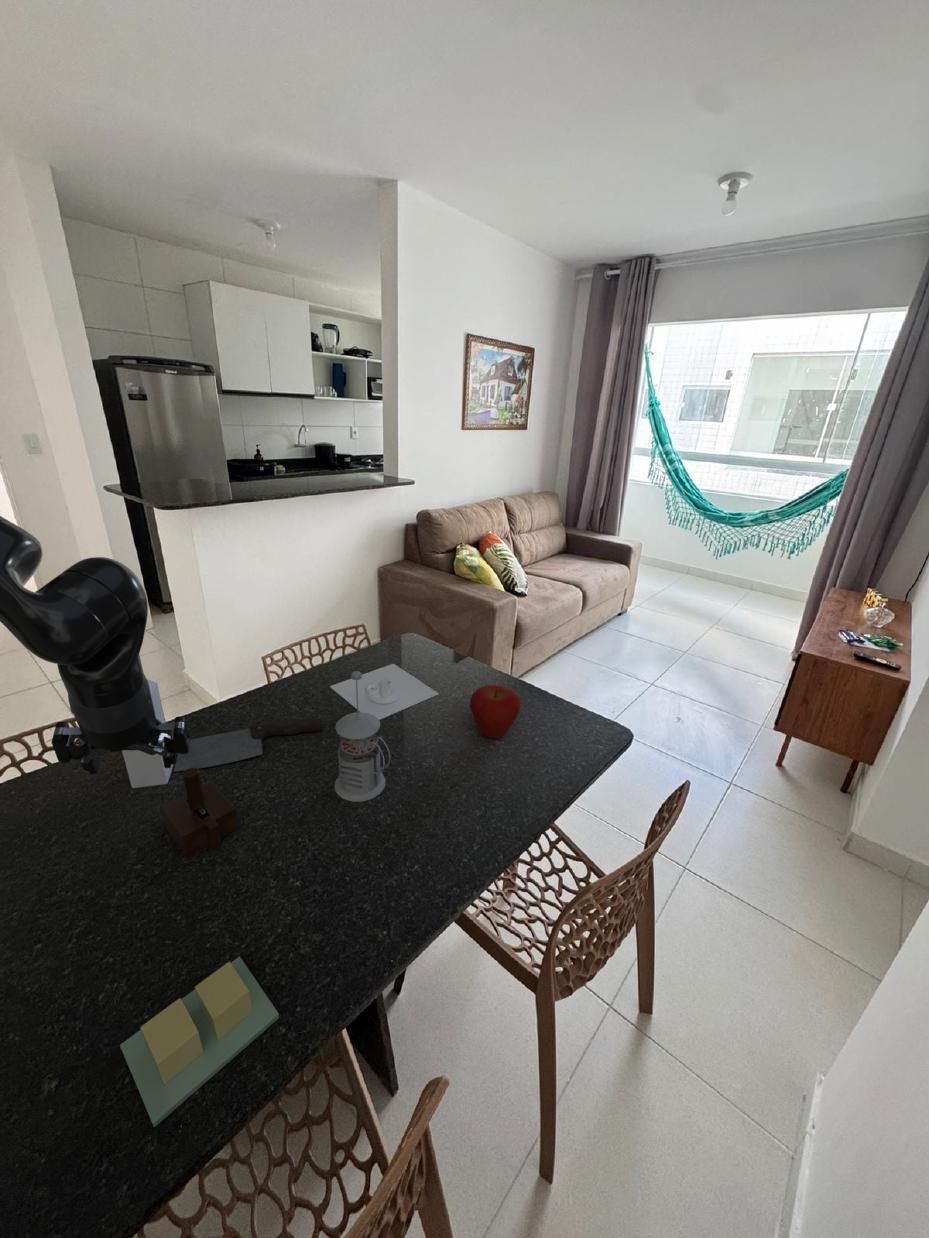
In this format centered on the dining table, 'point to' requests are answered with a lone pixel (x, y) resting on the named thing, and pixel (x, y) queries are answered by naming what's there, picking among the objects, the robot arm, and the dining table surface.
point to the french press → (359, 755)
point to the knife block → (191, 828)
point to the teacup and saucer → (384, 691)
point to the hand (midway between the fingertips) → (133, 764)
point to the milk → (143, 765)
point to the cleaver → (239, 743)
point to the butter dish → (206, 1061)
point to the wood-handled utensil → (194, 791)
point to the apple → (494, 709)
